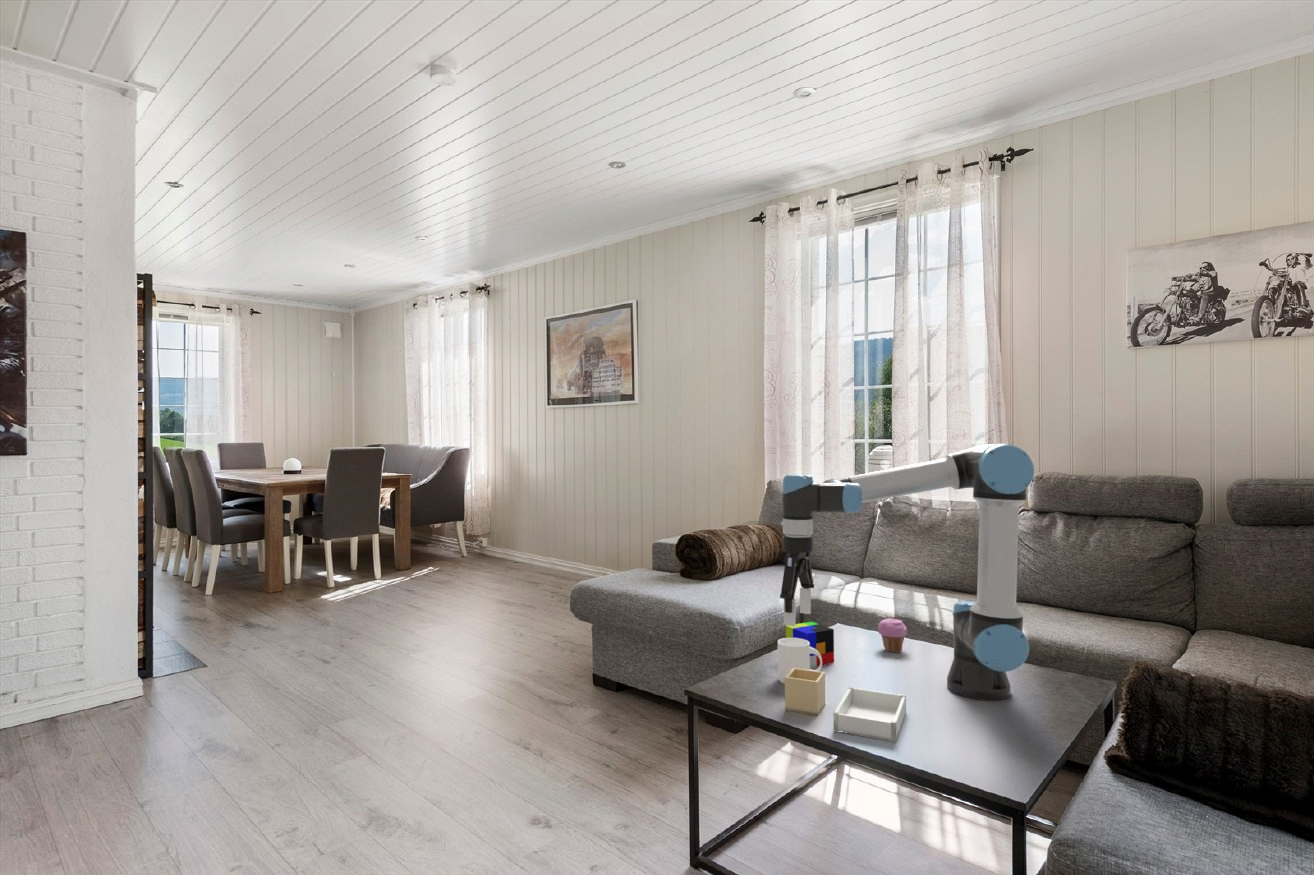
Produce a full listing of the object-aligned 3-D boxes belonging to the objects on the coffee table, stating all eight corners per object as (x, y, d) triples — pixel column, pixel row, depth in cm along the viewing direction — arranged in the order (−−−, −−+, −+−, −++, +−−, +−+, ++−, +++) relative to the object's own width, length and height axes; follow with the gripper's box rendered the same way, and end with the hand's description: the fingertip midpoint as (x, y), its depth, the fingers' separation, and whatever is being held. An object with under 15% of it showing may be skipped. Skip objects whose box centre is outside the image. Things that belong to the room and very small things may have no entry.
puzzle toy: (807, 668, 200) (807, 633, 200) (786, 658, 209) (785, 625, 209) (834, 663, 204) (833, 629, 204) (811, 654, 213) (811, 621, 213)
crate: (906, 712, 166) (905, 694, 166) (895, 742, 149) (895, 723, 149) (849, 703, 172) (849, 686, 172) (833, 731, 155) (833, 712, 155)
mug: (824, 687, 184) (824, 647, 184) (779, 686, 185) (779, 646, 185) (819, 676, 192) (819, 638, 192) (776, 675, 193) (776, 637, 193)
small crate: (825, 704, 172) (825, 672, 172) (817, 715, 164) (817, 682, 164) (793, 699, 175) (793, 667, 175) (785, 710, 168) (784, 677, 168)
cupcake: (910, 655, 211) (909, 622, 211) (881, 654, 212) (880, 621, 212) (903, 646, 220) (903, 615, 220) (875, 646, 221) (875, 614, 221)
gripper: (797, 529, 188) (797, 607, 187) (767, 540, 166) (767, 628, 165) (824, 530, 184) (825, 610, 184) (797, 542, 162) (797, 632, 162)
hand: (797, 619), depth 175 cm, fingers open, 13 cm apart
